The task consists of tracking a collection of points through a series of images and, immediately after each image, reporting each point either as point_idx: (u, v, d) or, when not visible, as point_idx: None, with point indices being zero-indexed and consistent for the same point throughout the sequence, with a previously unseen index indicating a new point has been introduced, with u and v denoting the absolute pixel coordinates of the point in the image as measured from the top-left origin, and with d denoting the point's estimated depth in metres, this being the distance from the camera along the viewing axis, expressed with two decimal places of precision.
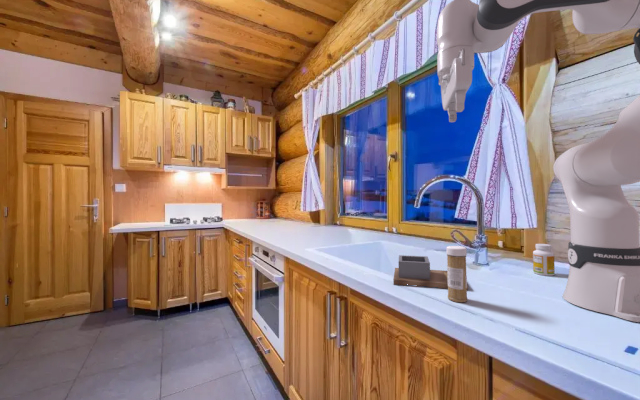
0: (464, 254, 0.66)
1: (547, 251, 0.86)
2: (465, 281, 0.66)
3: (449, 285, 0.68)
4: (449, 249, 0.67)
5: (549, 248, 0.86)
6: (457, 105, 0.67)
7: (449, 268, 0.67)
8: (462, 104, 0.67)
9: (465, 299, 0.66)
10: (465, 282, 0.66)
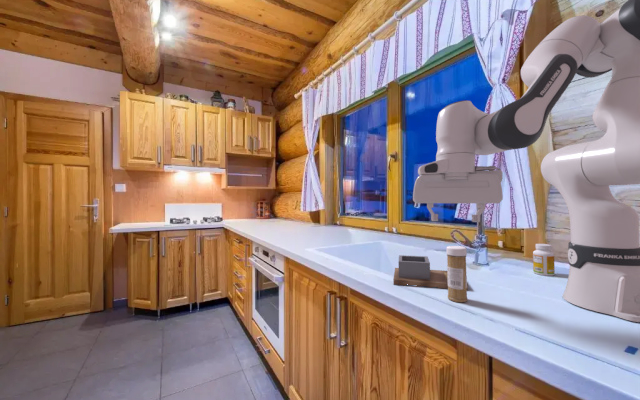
0: (464, 254, 0.66)
1: (547, 251, 0.86)
2: (465, 281, 0.66)
3: (449, 285, 0.68)
4: (449, 249, 0.67)
5: (549, 248, 0.86)
6: None
7: (449, 268, 0.67)
8: None
9: (465, 299, 0.66)
10: (465, 282, 0.66)
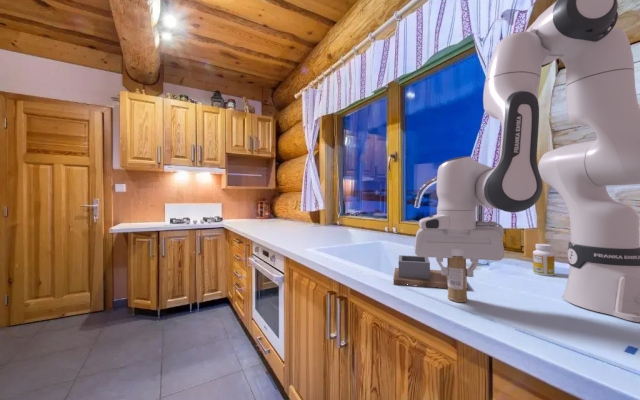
0: None
1: (547, 251, 0.86)
2: (465, 281, 0.66)
3: (449, 285, 0.68)
4: None
5: (549, 248, 0.86)
6: None
7: (449, 268, 0.67)
8: None
9: (465, 299, 0.66)
10: (465, 282, 0.66)
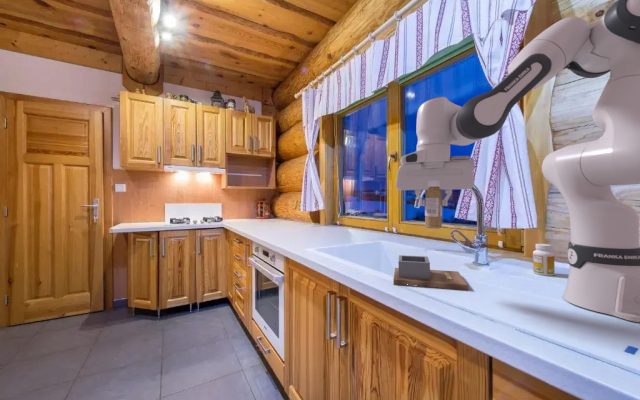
0: None
1: (547, 251, 0.86)
2: (440, 210, 0.73)
3: (426, 214, 0.75)
4: None
5: (549, 248, 0.86)
6: None
7: (426, 199, 0.75)
8: None
9: (439, 226, 0.73)
10: (440, 210, 0.73)
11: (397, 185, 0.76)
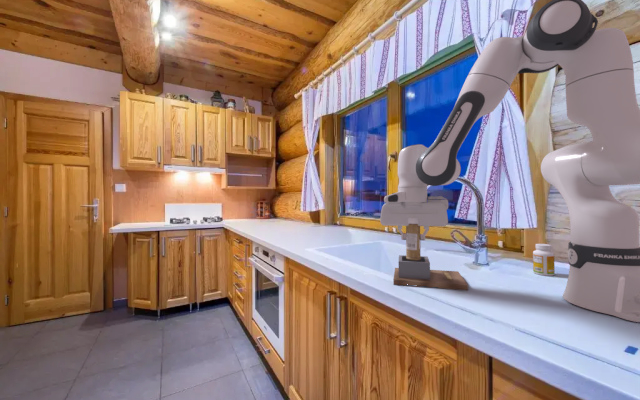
0: None
1: (547, 251, 0.86)
2: (419, 244, 0.83)
3: (406, 247, 0.85)
4: None
5: (549, 248, 0.86)
6: None
7: (407, 234, 0.84)
8: None
9: (418, 258, 0.83)
10: (419, 244, 0.83)
11: (381, 221, 0.86)
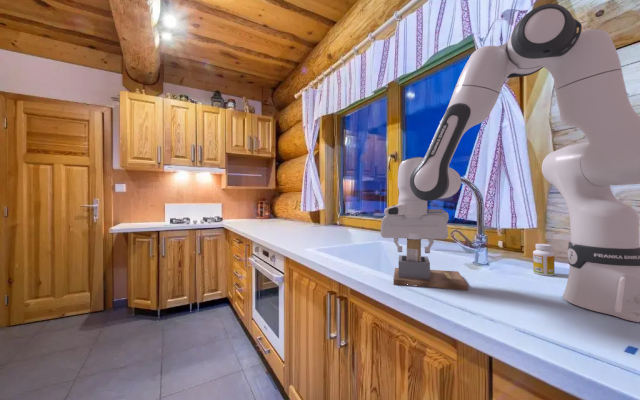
0: (419, 238, 0.83)
1: (547, 251, 0.86)
2: (419, 259, 0.83)
3: None
4: None
5: (549, 248, 0.86)
6: (429, 249, 0.83)
7: (407, 249, 0.84)
8: None
9: None
10: (419, 260, 0.83)
11: (381, 233, 0.86)
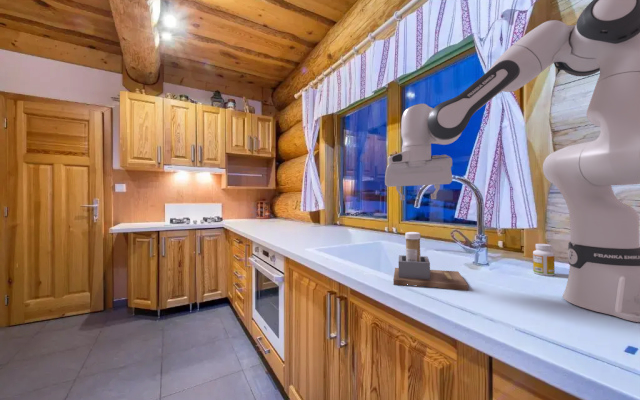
0: (418, 238, 0.83)
1: (547, 251, 0.86)
2: (419, 259, 0.83)
3: None
4: (406, 234, 0.84)
5: (549, 248, 0.86)
6: None
7: (407, 249, 0.85)
8: None
9: None
10: (419, 260, 0.83)
11: (386, 182, 0.87)
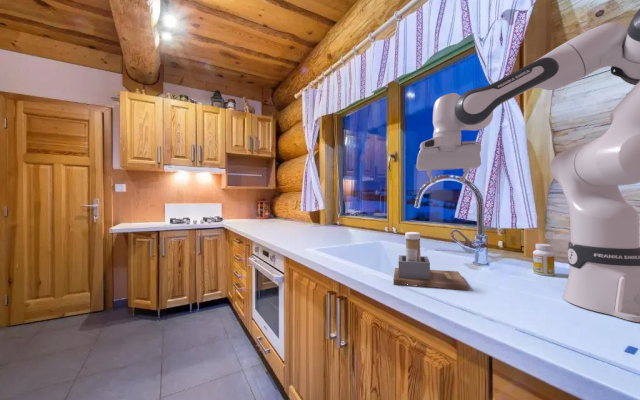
0: (418, 238, 0.83)
1: (547, 251, 0.86)
2: (419, 259, 0.83)
3: None
4: (406, 234, 0.84)
5: (549, 248, 0.86)
6: None
7: (407, 249, 0.85)
8: (464, 177, 0.92)
9: None
10: (419, 260, 0.83)
11: (418, 166, 0.94)
